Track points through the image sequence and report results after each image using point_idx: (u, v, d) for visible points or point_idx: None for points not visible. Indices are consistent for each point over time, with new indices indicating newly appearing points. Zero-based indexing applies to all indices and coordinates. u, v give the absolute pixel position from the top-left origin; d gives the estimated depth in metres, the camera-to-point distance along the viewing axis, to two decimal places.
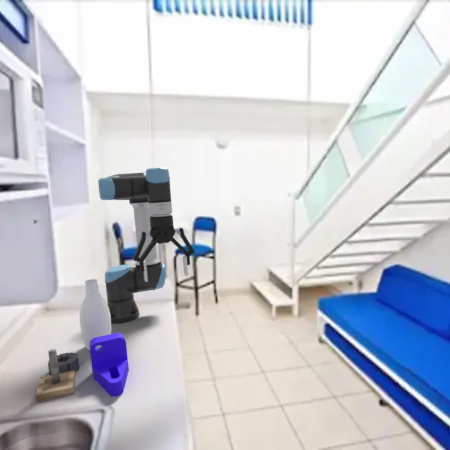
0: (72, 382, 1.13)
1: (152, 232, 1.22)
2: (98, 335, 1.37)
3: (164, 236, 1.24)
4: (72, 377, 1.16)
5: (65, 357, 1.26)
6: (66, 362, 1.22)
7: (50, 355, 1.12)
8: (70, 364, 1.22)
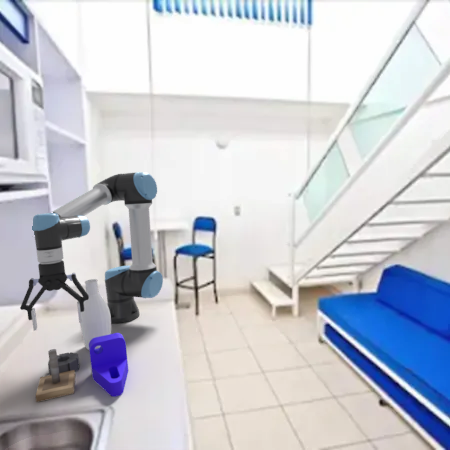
0: (72, 382, 1.13)
1: (40, 279, 1.19)
2: (98, 335, 1.37)
3: (54, 283, 1.20)
4: (72, 377, 1.16)
5: (65, 357, 1.26)
6: (66, 362, 1.22)
7: (50, 355, 1.12)
8: (70, 364, 1.22)
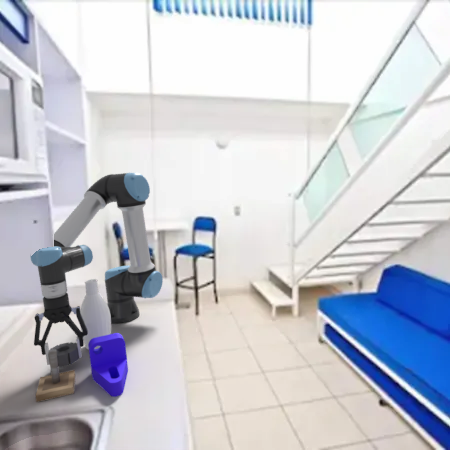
0: (72, 382, 1.13)
1: (45, 313, 1.20)
2: (98, 335, 1.37)
3: (59, 316, 1.22)
4: (72, 377, 1.16)
5: (65, 347, 1.27)
6: (66, 352, 1.22)
7: (50, 355, 1.12)
8: (70, 354, 1.22)
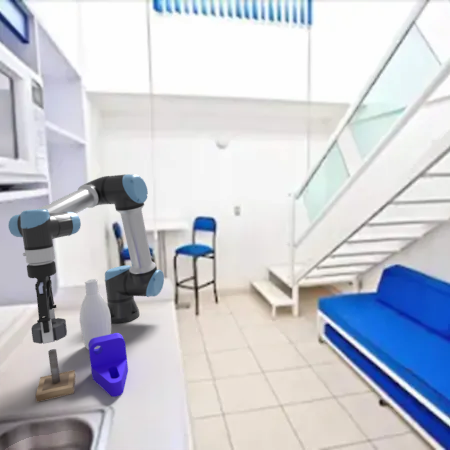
0: (72, 382, 1.13)
1: None
2: (98, 335, 1.37)
3: None
4: (72, 377, 1.16)
5: None
6: (36, 327, 1.09)
7: (50, 355, 1.12)
8: (33, 331, 1.08)
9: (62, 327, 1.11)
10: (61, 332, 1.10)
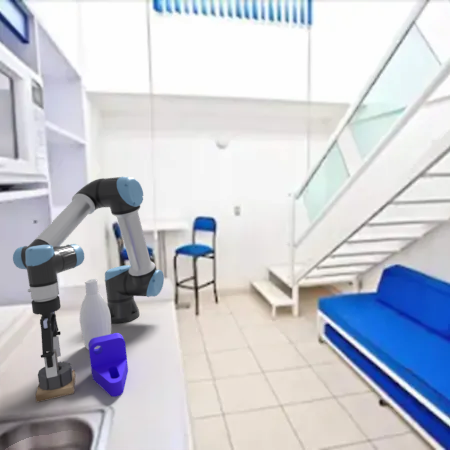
0: (72, 382, 1.13)
1: None
2: (98, 335, 1.37)
3: None
4: (72, 377, 1.16)
5: None
6: (42, 373, 1.11)
7: None
8: (39, 377, 1.10)
9: (68, 373, 1.12)
10: (67, 378, 1.12)
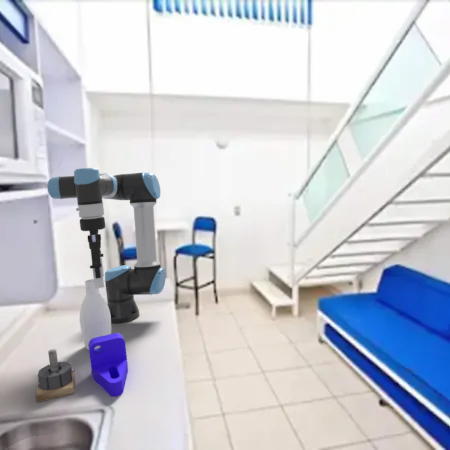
0: (72, 382, 1.13)
1: None
2: (98, 335, 1.37)
3: None
4: (72, 377, 1.16)
5: None
6: (42, 373, 1.11)
7: (50, 355, 1.12)
8: (39, 377, 1.10)
9: (68, 373, 1.12)
10: (67, 378, 1.12)
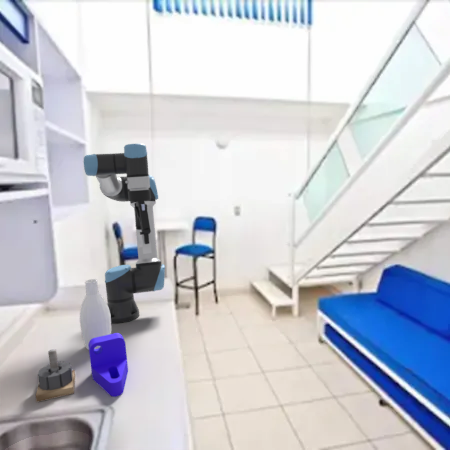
0: (72, 382, 1.13)
1: (136, 204, 1.33)
2: (98, 335, 1.37)
3: None
4: (72, 377, 1.16)
5: None
6: (42, 373, 1.11)
7: (50, 355, 1.12)
8: (39, 377, 1.10)
9: (68, 373, 1.12)
10: (67, 378, 1.12)
